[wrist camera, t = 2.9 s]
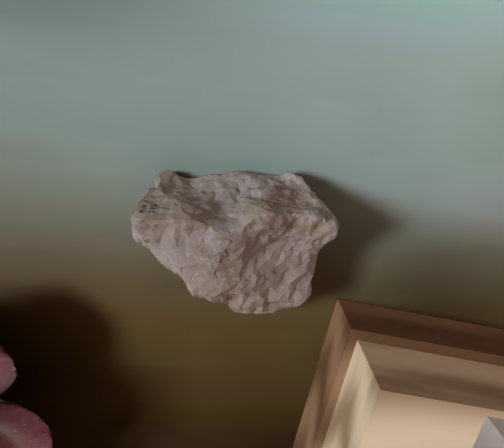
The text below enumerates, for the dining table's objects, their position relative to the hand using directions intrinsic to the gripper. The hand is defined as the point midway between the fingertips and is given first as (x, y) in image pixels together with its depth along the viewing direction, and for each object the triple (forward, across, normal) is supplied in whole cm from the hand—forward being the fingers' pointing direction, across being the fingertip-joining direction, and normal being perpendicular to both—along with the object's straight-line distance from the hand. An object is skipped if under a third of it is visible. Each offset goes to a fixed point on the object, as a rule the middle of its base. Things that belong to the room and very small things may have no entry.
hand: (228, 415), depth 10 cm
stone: (+14, 0, +1) cm, 15 cm away
